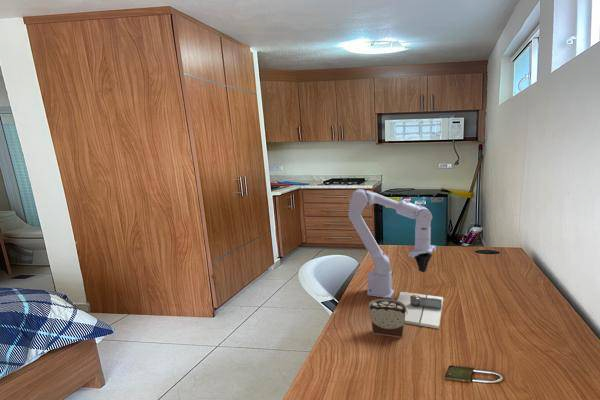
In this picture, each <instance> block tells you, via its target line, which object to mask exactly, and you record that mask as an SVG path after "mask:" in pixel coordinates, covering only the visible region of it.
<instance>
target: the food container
mask: <svg viewBox="0 0 600 400" xmlns="http://www.w3.org/2000/svg"><path fill="white" fill-rule="evenodd" d="M367 310H368V311H369V313H370V314H369V315H370V321H371V322H370V323H371V330H372V331H371V333H372V334H374V335H378V336H388V337H393V338H401V339H403V337H404V329H405V323H404V322H405V314H406V312H407V308H406V306H405V305H404V304H403V303H402V302H400V301H397V299H391V298H380V299H379V298H377V299H375V300H374V299H373V300H372V301H370V303H369V304H368V307H367ZM407 314H408V313H407Z"/></svg>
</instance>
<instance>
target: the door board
mask: <svg viewBox="0 0 600 400" xmlns="http://www.w3.org/2000/svg"><path fill="white" fill-rule="evenodd" d="M412 295H417V296H420V297H424V298H433V299H442V305H443V303H444V296H437V295H429V294H421V293H414V292H413V293H412V292H406V291H400V293H399V295H398V297H397V299H396V300H397V301H400V302H402V303H403V304H404V305H405V306H406V308H407V312H406V314H405V322H404V324H407V325H413V326H419V327H420V326H421V327H427V328H432V329H438V330H439V329H440V323H441V316H442V310H443V308H442V309H439V308H430V307H422V306H418V307H415V306H412V305H410V296H412ZM407 313H408V314H407Z"/></svg>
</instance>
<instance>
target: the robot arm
mask: <svg viewBox="0 0 600 400" xmlns="http://www.w3.org/2000/svg"><path fill="white" fill-rule="evenodd" d="M367 204H368V205H375V204H378V205H381V206H384V207H387V208H389V209H393V210H395V212H396V214H397V215H400V216H403V217H405V218H408V219H411V220H415V227H414V228H415V229H414V230H415V231H414V248H413V249H412V250H411V251H409V252H408V257H409V258H412V259H413V258H414V259H415V261H416V263H417V267H418V271H419V272H422V273H425V272H426V270H427V268H428V264H429V261H430V260H431V258H432V256H433V254H432V253H433V252H435V251H436V250H437V245H433V244H431V238H432V237H431V232H432V231H431V229H432V227H431V222H432V220H433V215H432V214H433V213H431V211H430V210H429V209H428V208H427V207H425V206H424V205H421V204H418V205H417V204H414V203H412V202H410V200H408V199H405V200H404V199H401V200H399V201H397V200H394V199H393V198H389V197H388V196H387V197H386V196H384V195H382V194H379V193H377V192H374V191H372V190H371V191H370V190H365V189H363V188H357V189H355V190H353V192H352V194H351V196H350V198H349V205H348V215H347V216H348V219H349V221H350V223H352V226H353V228H354V229H355V231H356V233H357V234H358V236H359V237H360V239H361V242H362V243H363V245H364V247H365V249H366V251H368V253H369V255H370V258H371V260H372V262H373V264H374V269H373V270H369V271H368V274H367V279H366V280H367V281H366V282H367V285H366V286H367V293H366V296H369V297H377V298H383V299H391V298H392V296H393V294H394V292H395V290H394V289H392V282H393V281H392V279H393V278H392V274H393V273H392V265H391V263H390V262H391V260H390V257H389V255H387V254H385V253H384V251H383V250H382V249H381V248H380V246H379V244H378V242H377V241H376V239H375V238H374V236H373V234H372V232H371V230H370V228H369V227H368V225H367V223H366V222H365V220H364V218H363V216H362V212H363V210H364V208H365V207H366V206H367Z"/></svg>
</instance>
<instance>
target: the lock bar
mask: <svg viewBox="0 0 600 400" xmlns="http://www.w3.org/2000/svg"><path fill="white" fill-rule="evenodd" d="M410 305H412V306H415V307H418V306H422V307H430V308H439V309H442V310H443V304H442V299H433V298H424V297H420V296H417V295H412V296H410Z"/></svg>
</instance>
